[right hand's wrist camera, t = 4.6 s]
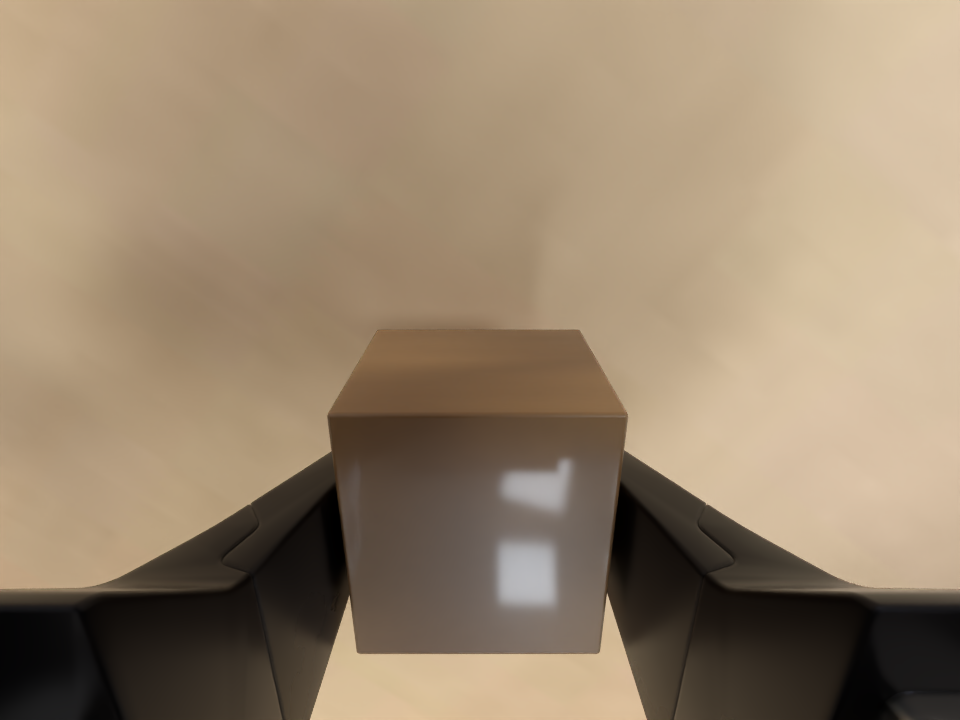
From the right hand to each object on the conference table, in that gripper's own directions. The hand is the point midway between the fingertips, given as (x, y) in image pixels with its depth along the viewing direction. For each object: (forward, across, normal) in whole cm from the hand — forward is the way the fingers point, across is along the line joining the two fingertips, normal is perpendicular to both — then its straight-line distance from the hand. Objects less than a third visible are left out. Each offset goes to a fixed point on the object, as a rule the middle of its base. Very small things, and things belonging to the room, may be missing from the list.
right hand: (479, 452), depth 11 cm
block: (+1, 0, 0) cm, 1 cm away
